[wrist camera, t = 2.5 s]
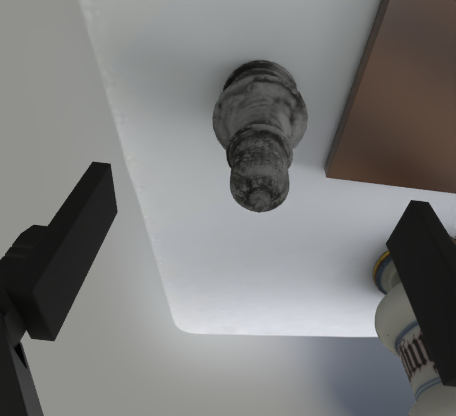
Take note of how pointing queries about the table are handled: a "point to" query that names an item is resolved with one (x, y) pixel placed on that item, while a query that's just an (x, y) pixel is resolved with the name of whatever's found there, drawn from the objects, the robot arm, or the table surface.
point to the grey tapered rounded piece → (260, 132)
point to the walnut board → (403, 101)
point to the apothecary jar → (409, 343)
